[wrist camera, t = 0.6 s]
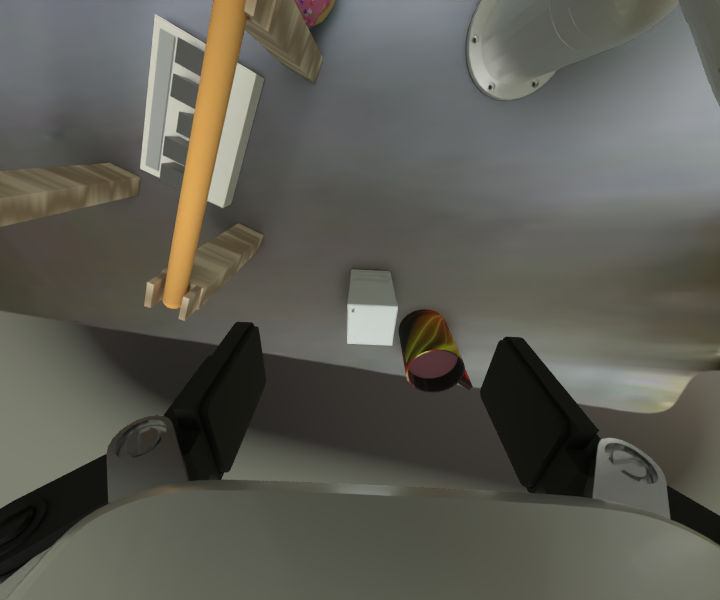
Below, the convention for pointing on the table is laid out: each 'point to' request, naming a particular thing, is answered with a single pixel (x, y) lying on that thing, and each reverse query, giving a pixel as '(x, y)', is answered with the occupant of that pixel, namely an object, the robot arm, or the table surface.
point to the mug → (430, 353)
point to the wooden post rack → (109, 182)
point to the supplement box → (371, 308)
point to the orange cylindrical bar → (204, 141)
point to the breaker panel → (192, 113)
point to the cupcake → (314, 10)
